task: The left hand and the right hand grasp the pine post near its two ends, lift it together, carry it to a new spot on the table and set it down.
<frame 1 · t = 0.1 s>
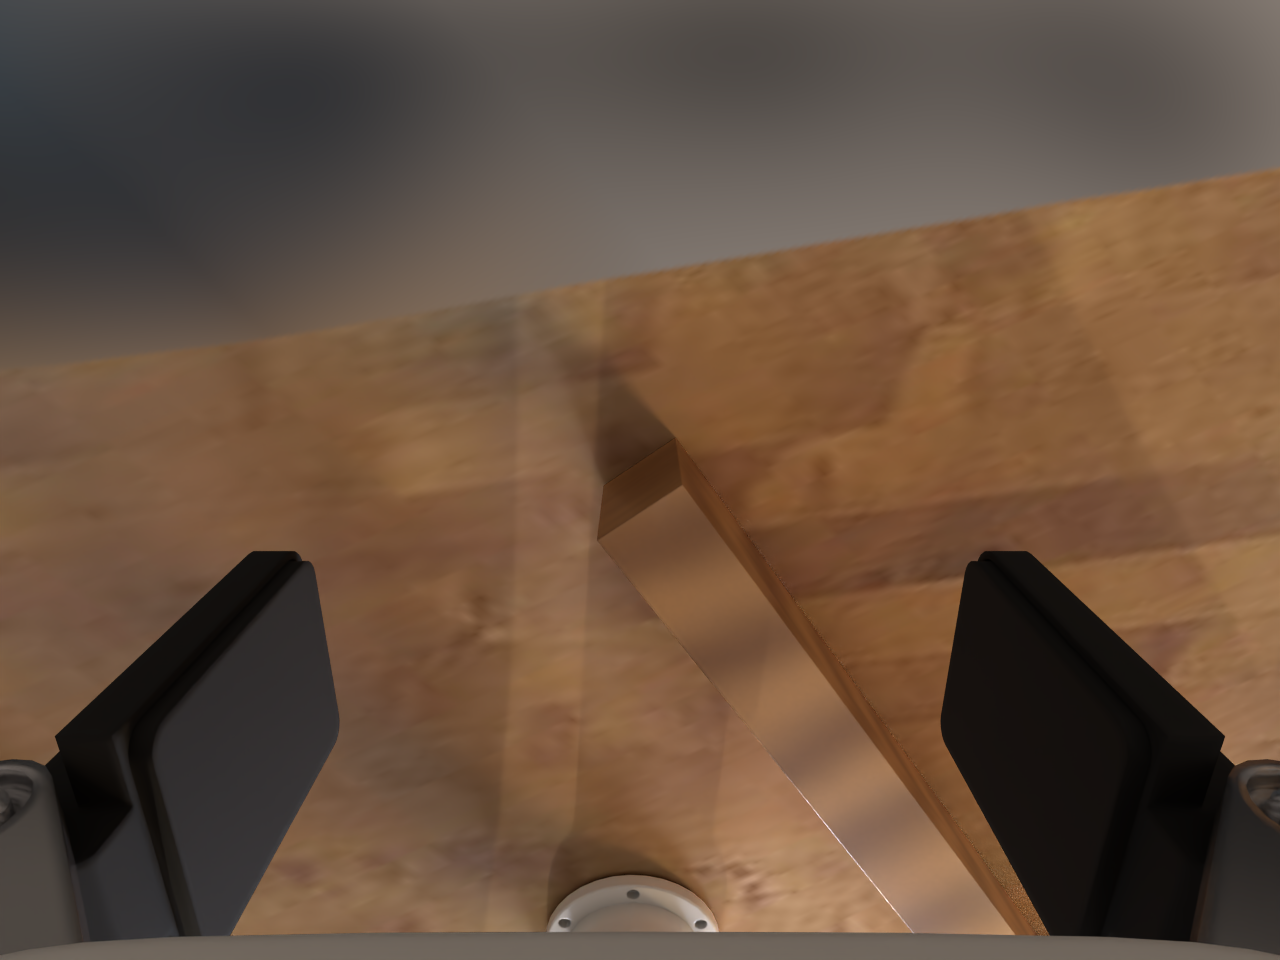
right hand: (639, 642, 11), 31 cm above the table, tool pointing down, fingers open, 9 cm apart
post: (909, 821, 52), on the table
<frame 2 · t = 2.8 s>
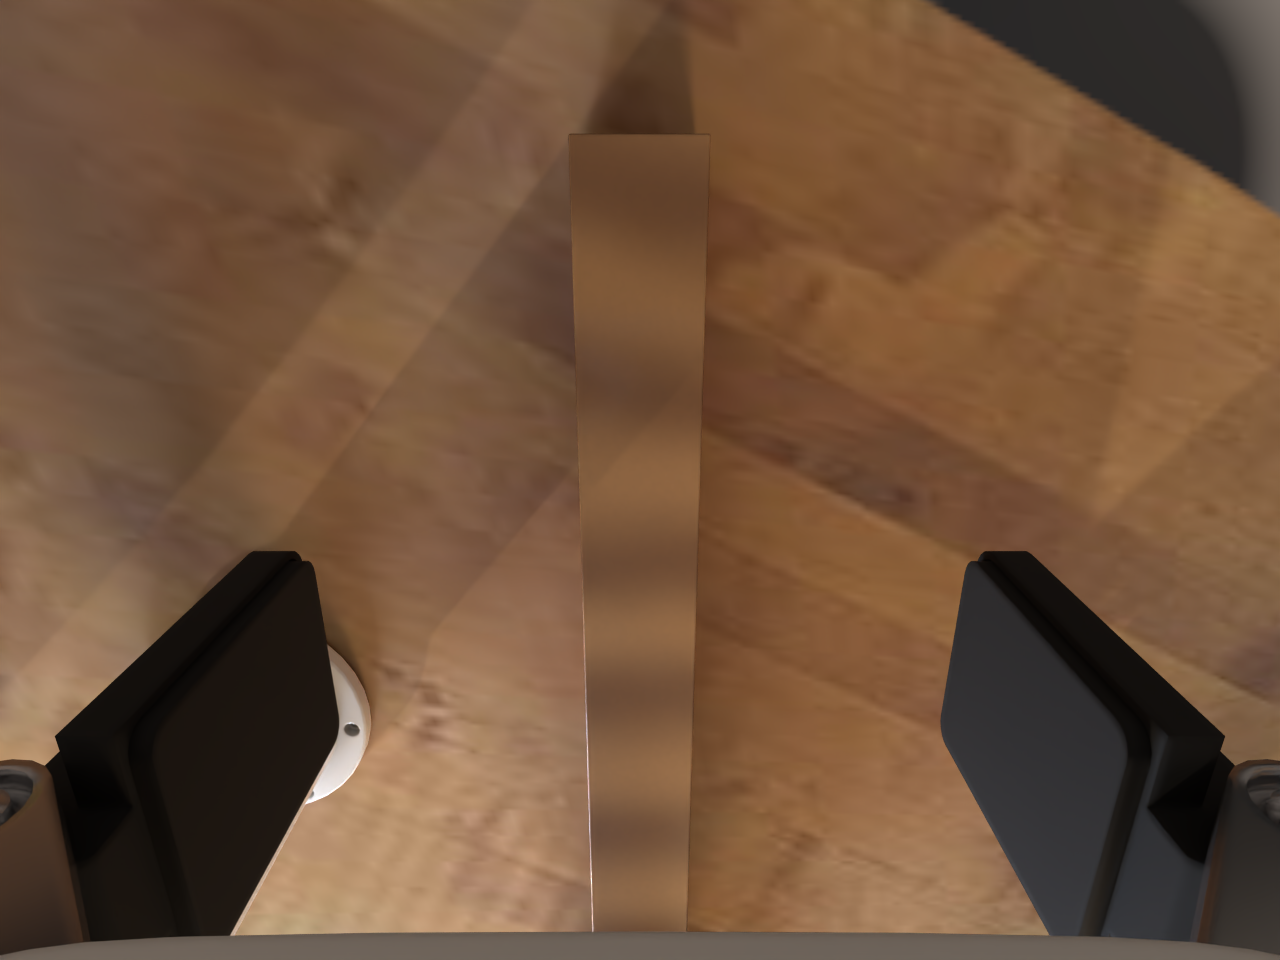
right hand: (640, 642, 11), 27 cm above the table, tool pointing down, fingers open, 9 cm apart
post: (639, 737, 45), on the table, touching left hand
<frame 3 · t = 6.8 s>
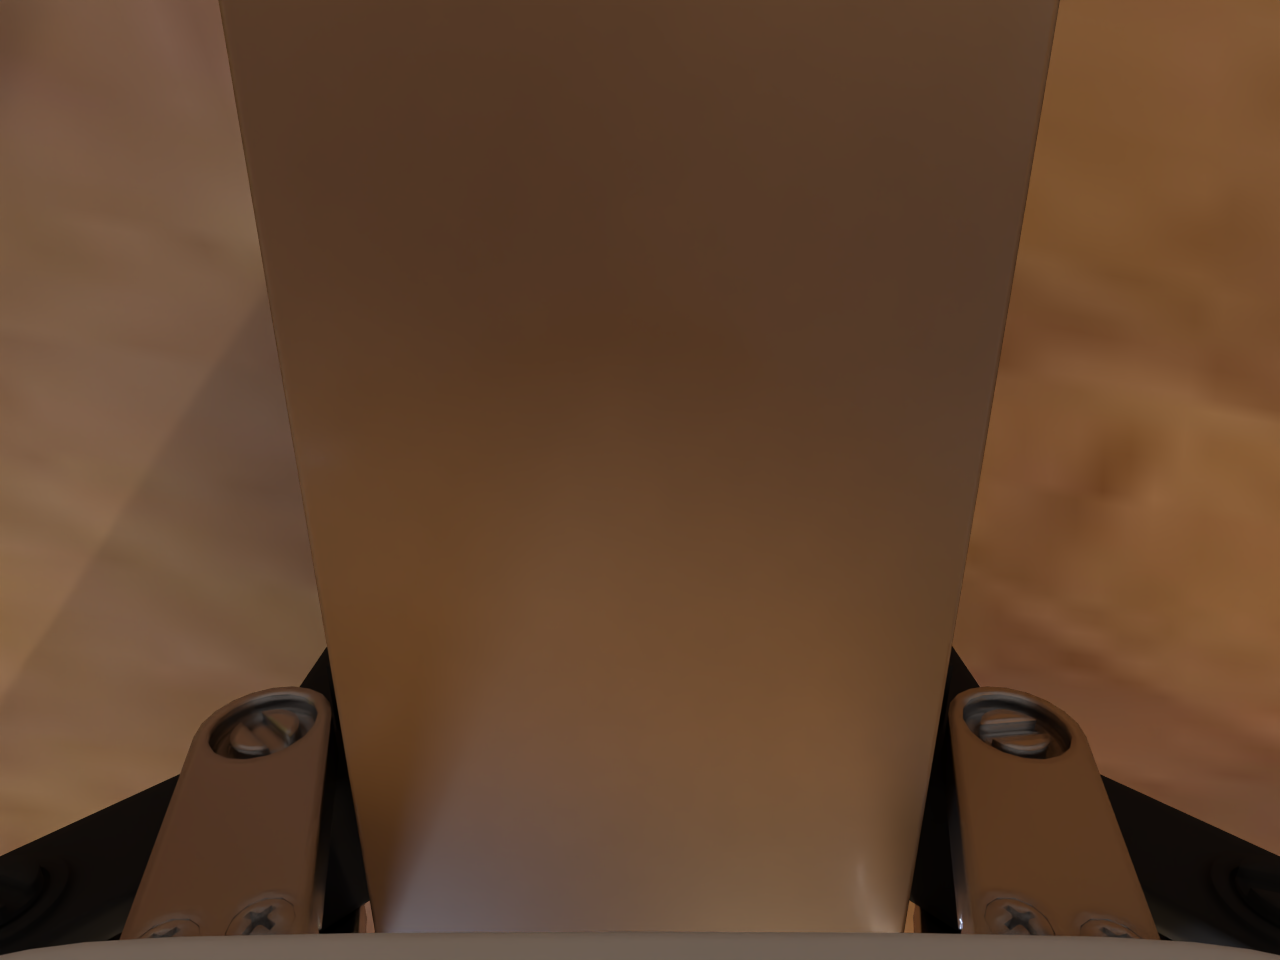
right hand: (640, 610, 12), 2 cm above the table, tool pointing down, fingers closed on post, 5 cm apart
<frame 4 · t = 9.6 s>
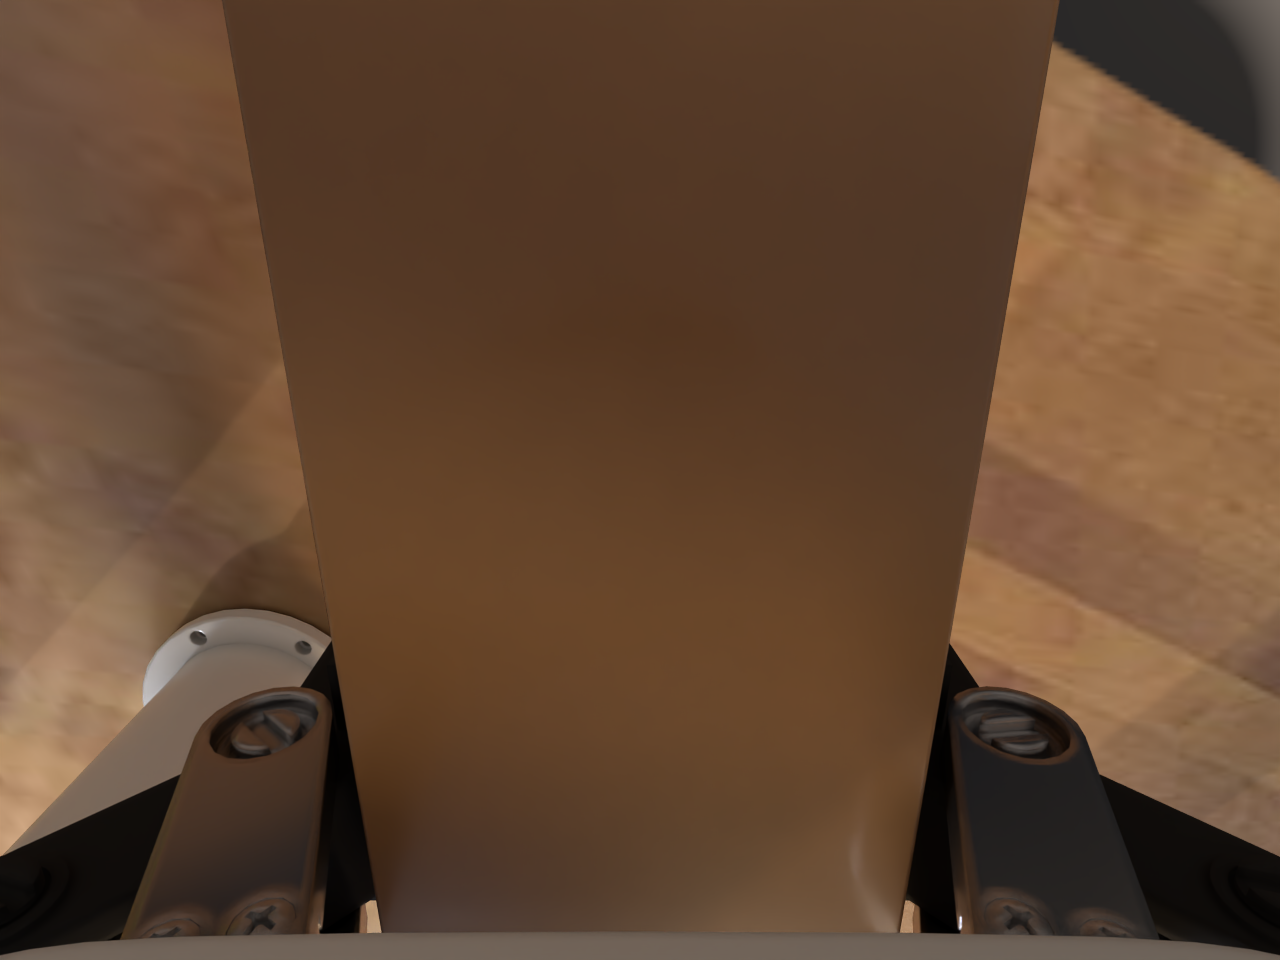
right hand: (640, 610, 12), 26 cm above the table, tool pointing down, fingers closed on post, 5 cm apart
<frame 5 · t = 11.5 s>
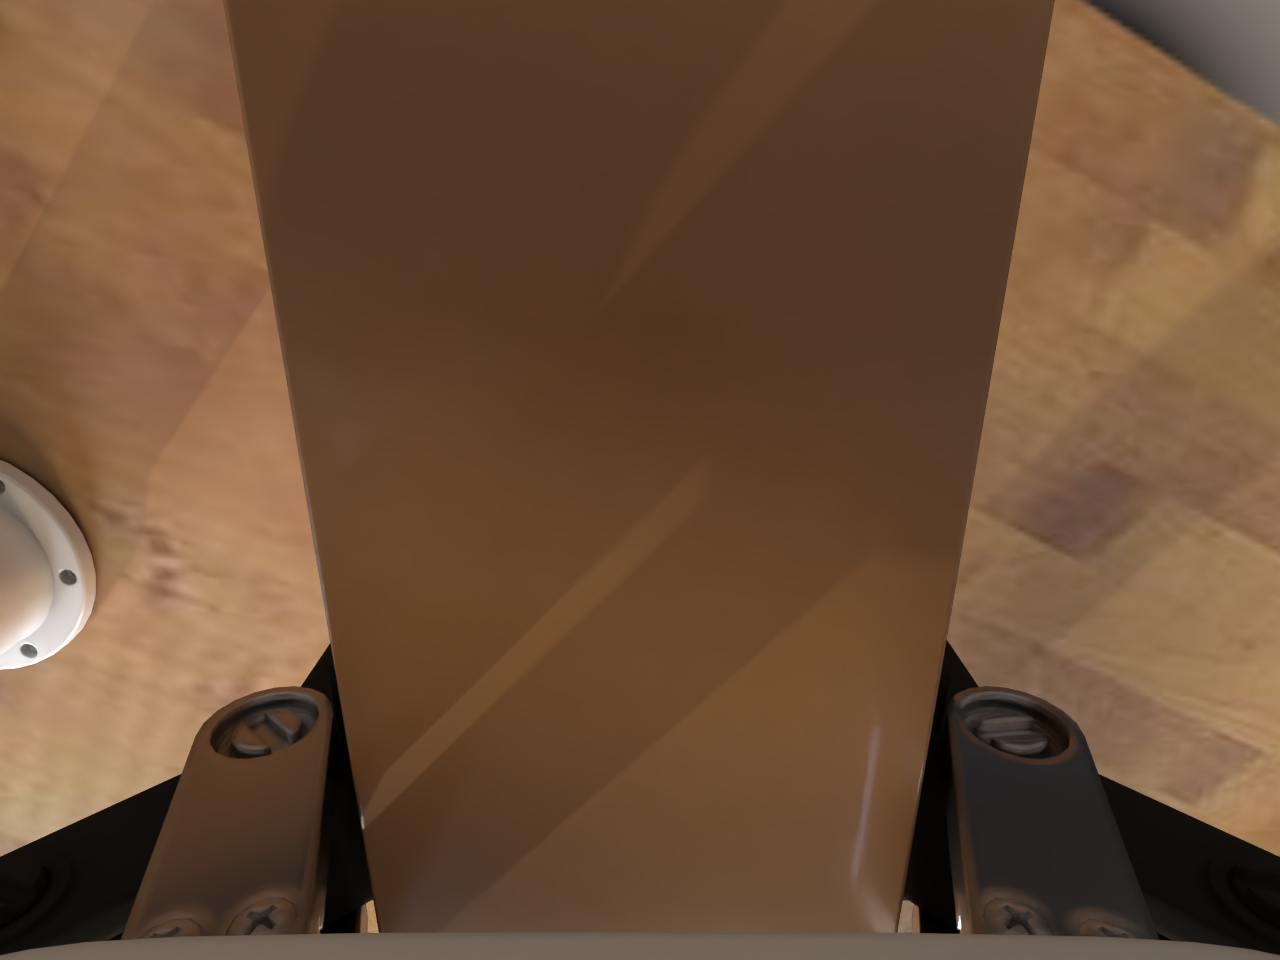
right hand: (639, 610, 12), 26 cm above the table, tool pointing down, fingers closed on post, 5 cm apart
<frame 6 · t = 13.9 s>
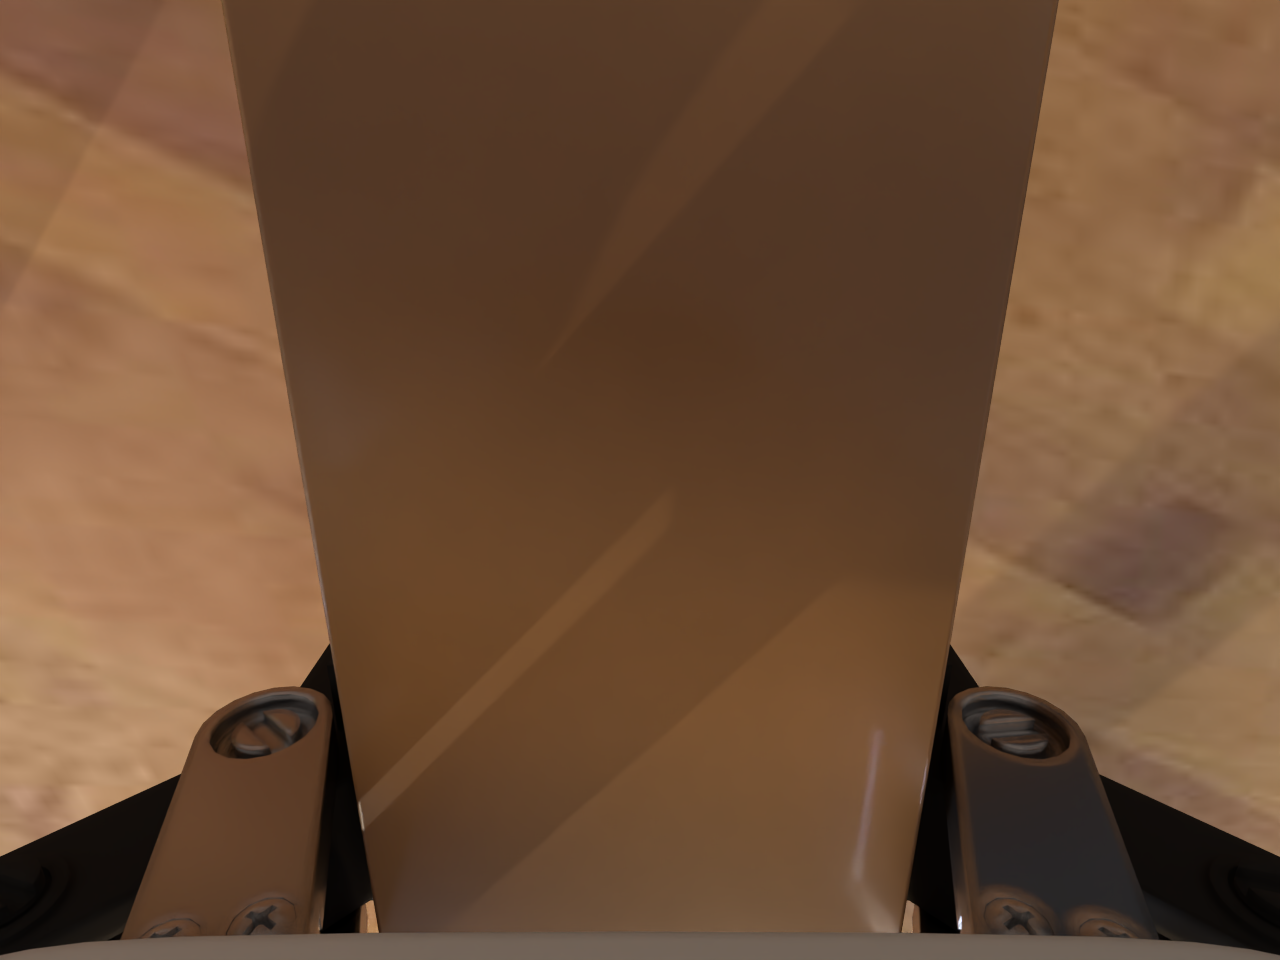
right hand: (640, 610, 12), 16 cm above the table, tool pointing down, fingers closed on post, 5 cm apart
when the left hand's fingers open (4 cm above the table, at t = 16.2 s): post drops 1 cm, on the table.
when the right hand's fingers open (3 cm above the table, at t = 16.2 s): post drops 1 cm, on the table.
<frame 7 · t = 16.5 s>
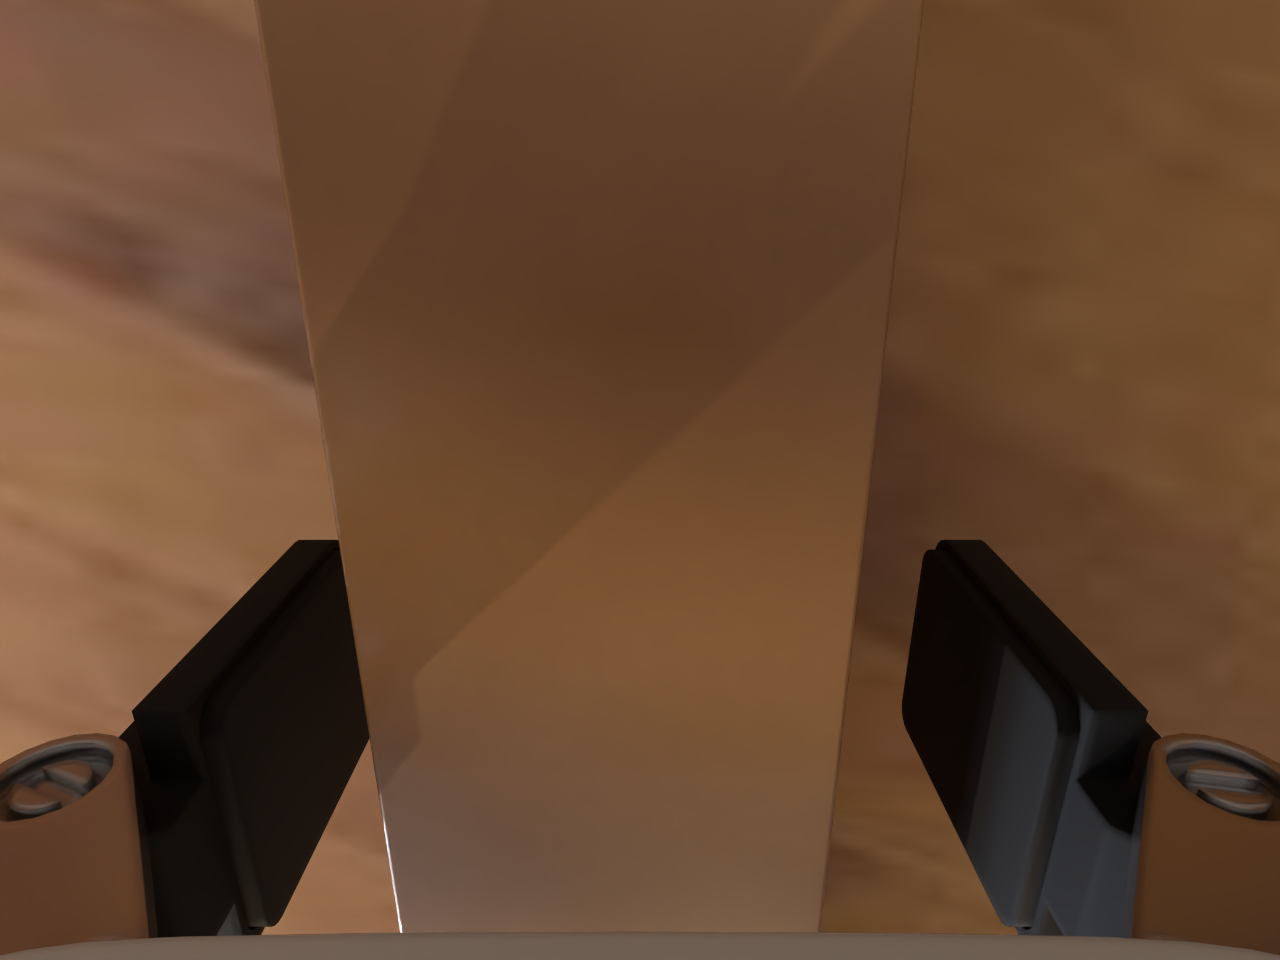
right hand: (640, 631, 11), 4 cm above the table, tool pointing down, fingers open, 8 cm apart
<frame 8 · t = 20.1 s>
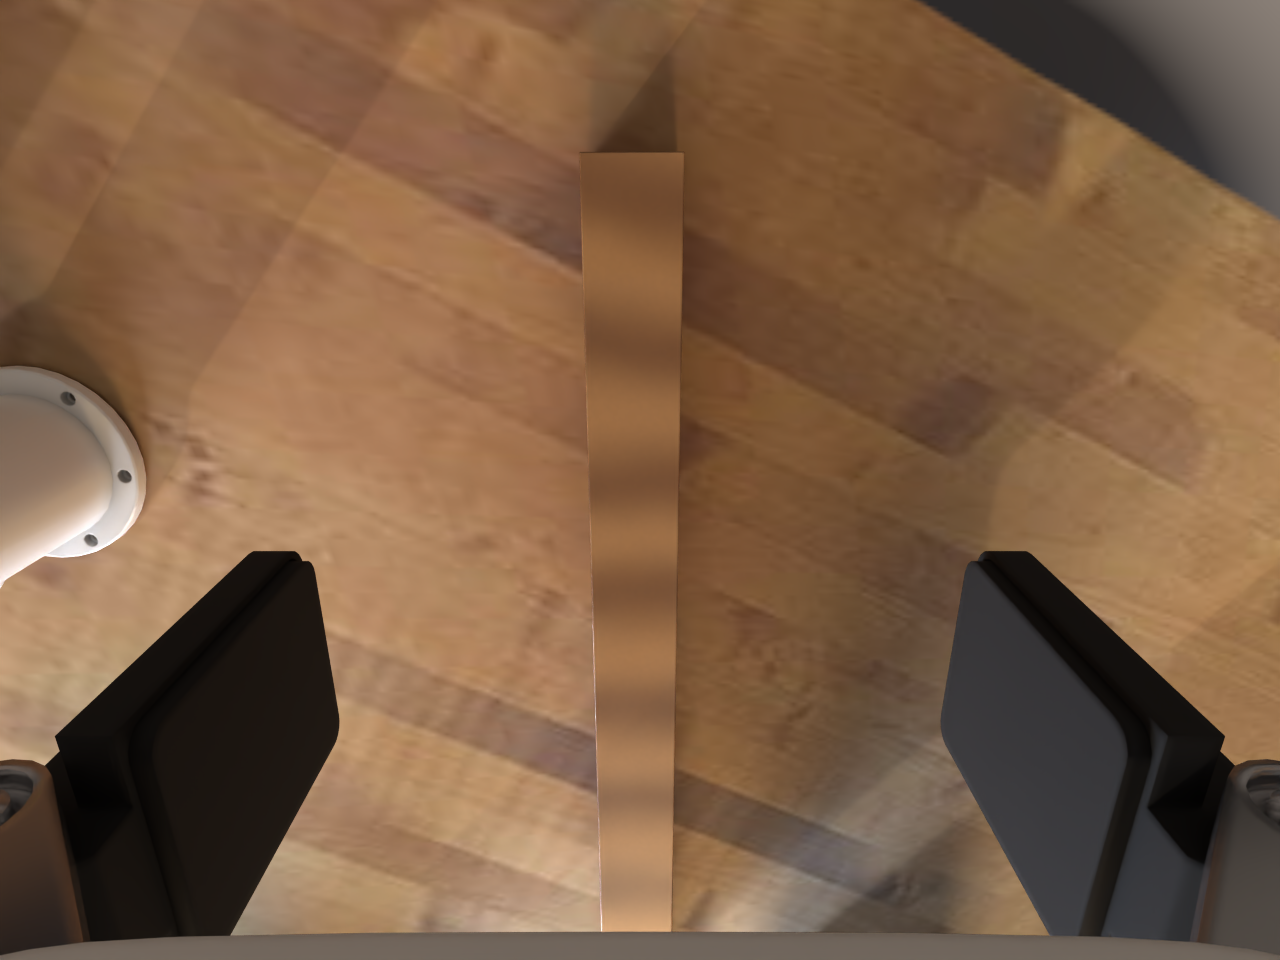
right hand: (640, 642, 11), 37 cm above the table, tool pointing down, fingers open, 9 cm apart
post: (635, 644, 54), on the table
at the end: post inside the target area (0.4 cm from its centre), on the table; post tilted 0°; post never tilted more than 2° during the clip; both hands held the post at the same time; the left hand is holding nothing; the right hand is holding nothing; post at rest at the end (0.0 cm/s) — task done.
